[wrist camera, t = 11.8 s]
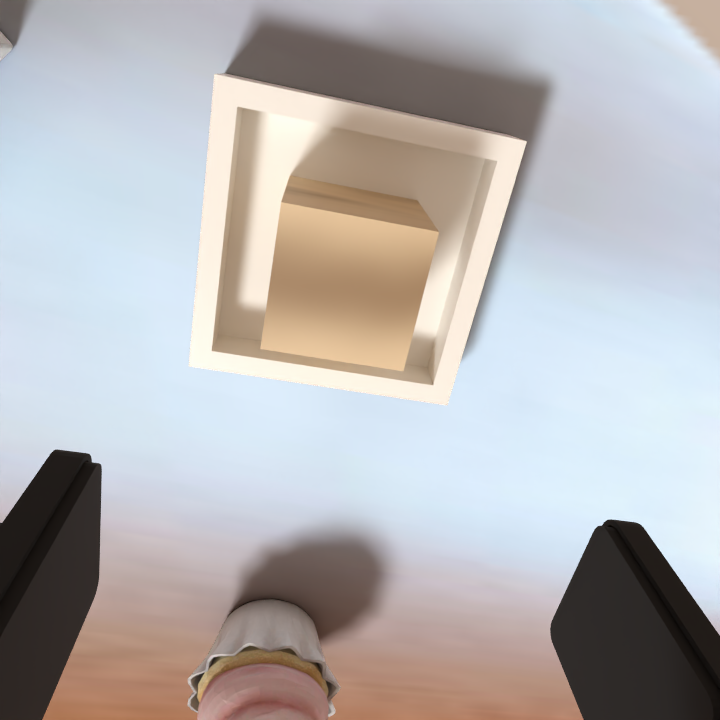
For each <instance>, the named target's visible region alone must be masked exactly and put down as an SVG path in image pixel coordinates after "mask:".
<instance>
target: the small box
mask: <svg viewBox="0 0 720 720" xmlns="http://www.w3.org/2000/svg"><path fill="white" fill-rule="evenodd" d="M12 48H13V46H12V44H11V42H10V41H9V40H8V39H7V38H6V37H5V36H4V35H3V34H2V32H1V31H0V61H1V60H2V59H3V58H4V57H5V56H6V55H7V54H8V53H9V52H10V51H11V50H12Z"/></svg>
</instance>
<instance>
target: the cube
mask: <svg viewBox="0 0 720 720" xmlns="http://www.w3.org/2000/svg"><path fill="white" fill-rule="evenodd" d="M438 235H439V231H438V229H437V228H436V227H435V225H434V224H433V222H432V221H431V219H430V218H429V216H428V215H427V213H426V212H425V211H424V209H423V208H422V206H421V205H420V203H419V202H418V200H413V199H408V198H403V197H398V196H393V195H388V194H383V193H377V192H372V191H367V190H362V189H357V188H352V187H347V186H342V185H336V184H331V183H326V182H321V181H316V180H311V179H306V178H301V177H295V176H289V179H288V182H287V185H286V189H285V192H284V195H283V198H282V201H281V206H280V213H279V220H278V227H277V235H276V242H275V249H274V256H273V263H272V270H271V277H270V284H269V291H268V298H267V305H266V313H265V320H264V327H263V334H262V341H261V348H260V349H263V350H270V351H276V352H282V353H289V354H295V355H302V356H308V357H314V358H321V359H327V360H334V361H340V362H346V363H353V364H359V365H366V366H372V367H378V368H385V369H391V370H398V371H404V367H405V363H406V359H407V356H408V352H409V348H410V344H411V340H412V336H413V332H414V328H415V324H416V321H417V317H418V313H419V309H420V305H421V301H422V297H423V293H424V289H425V286H426V282H427V278H428V274H429V270H430V266H431V262H432V258H433V254H434V251H435V247H436V243H437V239H438Z"/></svg>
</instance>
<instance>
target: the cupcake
mask: <svg viewBox="0 0 720 720" xmlns="http://www.w3.org/2000/svg"><path fill="white" fill-rule="evenodd" d="M188 684H189V685H190V687H191V688H192V690H193V693H192V695H191V696H190V698H189V700H188V706H189V707H190V708H191V709H192V710H193V711H195V712H197V713H198V718H197V719H198V720H328V717H329V716H332V715H333V714H335V708H334V706H333V703H332V701H331V699H332V698H333V697H334V696H335V695H336V694H337V693H338V692H339V690H340V688H341V687H340V685H339V683H338V682H337V680H336V679H335V677H334V676H333V674H332V672H331V671H330V669H329V668H328V666H327V664H326V662H325V658H324V655H323V652H322V649H321V646H320V642H319V638H318V634H317V631H316V627H315V625H314V622H313V621H312V619H311V618H310V617H309V616H308V614H307V613H306V612H305V611H303V610H302V609H301V608H299V607H298V606H296V605H294V604H291V603H288V602H285V601H280V600H274V599H269V600H258V601H253V602H249V603H247V604H245V605H243V606H241V607H239V608H238V609H236V610H235V611H234V612H232V613H231V614H230V615H229V616H228V618H227V619H226V620H225V622H224V624H223V626H222V628H221V630H220V632H219V634H218V636H217V638H216V640H215V642H214V644H213V646H212V648H211V649H210V651H209V653H208V655H207V657H206V658H205V659H204V660H203V662H202V663H201V664H200V665H199V666H198V667H197V669H196V670H195V671H194V672H193V673H192V674H191V676H190V677H189V678H188Z"/></svg>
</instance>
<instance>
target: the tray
mask: <svg viewBox="0 0 720 720" xmlns="http://www.w3.org/2000/svg"><path fill="white" fill-rule="evenodd" d="M526 143H527V141H525V140H522V139H519V138H517V137H514V136H511V135H507V134H503V133H498V132H494V131H489V130H484V129H480V128H475V127H470V126H466V125H461V124H457V123H452V122H447V121H443V120H438V119H433V118H429V117H424V116H419V115H415V114H410V113H406V112H401V111H396V110H392V109H387V108H382V107H378V106H373V105H369V104H364V103H359V102H355V101H350V100H345V99H341V98H336V97H332V96H327V95H322V94H318V93H313V92H308V91H304V90H299V89H295V88H290V87H285V86H281V85H276V84H271V83H267V82H262V81H257V80H253V79H248V78H244V77H239V76H234V75H230V74H225V73H222V74H214V85H213V96H212V108H211V119H210V130H209V142H208V153H207V164H206V176H205V187H204V198H203V210H202V221H201V233H200V244H199V255H198V267H197V278H196V289H195V301H194V312H193V324H192V335H191V346H190V358H189V366H190V367H197V368H203V369H210V370H216V371H223V372H230V373H236V374H243V375H250V376H256V377H263V378H269V379H276V380H283V381H289V382H296V383H302V384H309V385H316V386H322V387H329V388H336V389H342V390H349V391H355V392H362V393H369V394H375V395H382V396H388V397H395V398H402V399H408V400H415V401H422V402H428V403H435V404H441V405H448V401H449V398H450V395H451V391H452V388H453V385H454V381H455V378H456V375H457V371H458V368H459V365H460V361H461V358H462V355H463V352H464V348H465V345H466V342H467V338H468V335H469V332H470V328H471V325H472V322H473V318H474V315H475V312H476V308H477V305H478V302H479V299H480V295H481V292H482V289H483V285H484V282H485V279H486V275H487V272H488V269H489V265H490V262H491V259H492V256H493V252H494V249H495V246H496V242H497V239H498V236H499V232H500V229H501V226H502V222H503V219H504V216H505V212H506V209H507V206H508V203H509V199H510V196H511V193H512V189H513V186H514V183H515V179H516V176H517V173H518V169H519V166H520V163H521V159H522V156H523V153H524V150H525V146H526ZM289 176H295V177H301V178H306V179H311V180H316V181H321V182H326V183H331V184H336V185H342V186H347V187H352V188H357V189H362V190H367V191H372V192H377V193H383V194H388V195H393V196H398V197H403V198H408V199H413V200H418V202H419V203H420V205H421V206H422V208H423V209H424V211H425V212H426V213H427V215H428V216H429V218H430V219H431V221H432V222H433V224H434V225H435V227H436V228H437V229H438V231H439V235H438V239H437V243H436V247H435V251H434V254H433V258H432V262H431V266H430V270H429V274H428V278H427V282H426V286H425V289H424V293H423V297H422V301H421V305H420V309H419V313H418V317H417V321H416V324H415V328H414V332H413V336H412V340H411V344H410V348H409V352H408V356H407V359H406V363H405V367H404V371H398V370H391V369H385V368H378V367H372V366H366V365H359V364H353V363H346V362H340V361H334V360H327V359H321V358H314V357H308V356H302V355H295V354H289V353H282V352H276V351H270V350H263V349H260V348H261V341H262V334H263V327H264V320H265V313H266V305H267V298H268V291H269V284H270V277H271V270H272V263H273V256H274V249H275V242H276V235H277V227H278V220H279V213H280V206H281V201H282V198H283V195H284V192H285V189H286V185H287V182H288V179H289Z"/></svg>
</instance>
